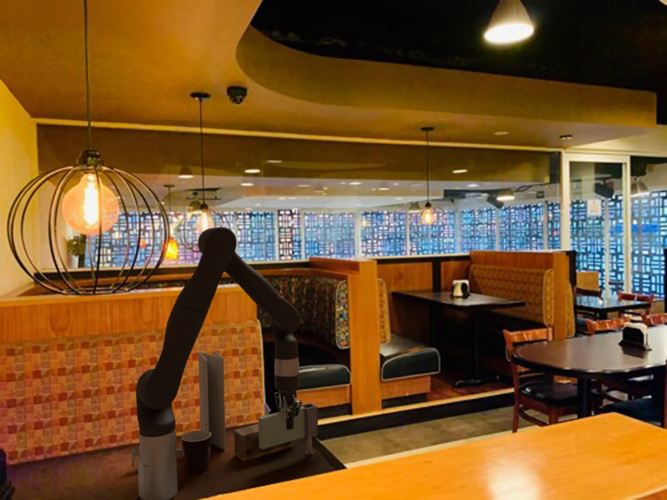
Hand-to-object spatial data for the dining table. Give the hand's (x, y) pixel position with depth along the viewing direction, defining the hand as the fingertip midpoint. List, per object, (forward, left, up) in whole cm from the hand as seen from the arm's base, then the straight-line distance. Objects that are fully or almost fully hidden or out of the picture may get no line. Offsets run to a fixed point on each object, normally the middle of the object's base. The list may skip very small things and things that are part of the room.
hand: (288, 427), depth 156 cm
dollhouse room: (+14, +29, -11) cm, 34 cm away
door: (-2, 0, -4) cm, 4 cm away
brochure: (-13, +27, -10) cm, 32 cm away
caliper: (-30, +23, -11) cm, 39 cm away
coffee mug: (-23, +13, -10) cm, 29 cm away
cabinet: (-2, +11, -10) cm, 15 cm away
